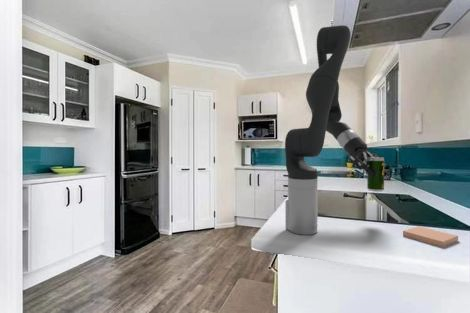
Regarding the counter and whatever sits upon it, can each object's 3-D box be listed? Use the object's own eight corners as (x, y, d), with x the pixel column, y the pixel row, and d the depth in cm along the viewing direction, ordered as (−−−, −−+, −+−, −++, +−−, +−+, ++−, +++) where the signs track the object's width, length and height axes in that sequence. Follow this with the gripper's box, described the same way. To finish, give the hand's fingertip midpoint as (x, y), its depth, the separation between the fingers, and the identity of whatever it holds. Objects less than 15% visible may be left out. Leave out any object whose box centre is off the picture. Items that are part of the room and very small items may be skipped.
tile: (403, 230, 75) (442, 241, 66) (418, 226, 79) (458, 235, 70) (402, 237, 75) (442, 249, 66) (418, 232, 79) (458, 242, 70)
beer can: (367, 191, 88) (368, 157, 88) (366, 188, 93) (366, 157, 93) (385, 192, 86) (385, 158, 85) (382, 189, 91) (383, 157, 90)
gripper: (344, 136, 92) (375, 170, 82) (369, 136, 99) (400, 168, 88) (333, 150, 97) (360, 184, 87) (357, 149, 104) (385, 181, 93)
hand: (380, 176), depth 88 cm, fingers closed on beer can, 5 cm apart
